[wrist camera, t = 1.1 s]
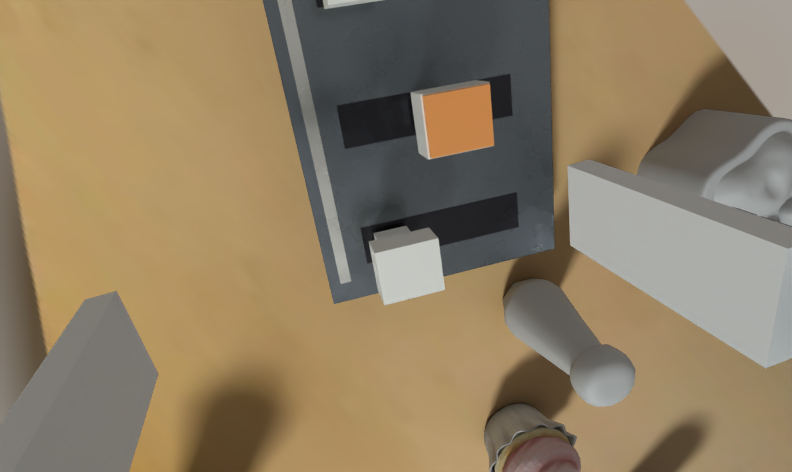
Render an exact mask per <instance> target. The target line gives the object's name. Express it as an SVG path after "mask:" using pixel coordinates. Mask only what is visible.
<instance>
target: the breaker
mask: <svg viewBox="0 0 792 472" xmlns="http://www.w3.org/2000/svg"><path fill="white" fill-rule="evenodd" d="M374 238H375V240H373V241H369V246H370V251H371V257H372V262H373V267H374V272H375V278H376V283H377V288H378V292H379V294H380V297H381V299H382V301H383V304H384V305H387V304H391V303H395V302H399V301H403V300H407V299H411V298H415V297H419V296H423V295H426V294H430V293H434V292H438V291H442V290H445V286H444V278H443V271H442V263H441V255H440V247H439V239H438V237H437V236H436V235H435V234H434V233H433V232H432V231H431V229H430V228H424V229H420V230H416V231H412V232H411V231H410V230H409V229H408V227H407V226H402V227H398V228H394V229H389V230H385V231H381V232H376V233H374Z"/></svg>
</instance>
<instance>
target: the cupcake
mask: <svg viewBox="0 0 792 472" xmlns="http://www.w3.org/2000/svg"><path fill="white" fill-rule="evenodd" d="M576 438H577V437H576V436H575V435H573V434H571V433H569V432H566V430H565V426H564V425H563V424H561V423H558V422H555V421H552V420H549V419H548V418H547V417H545V416H544V415H543V414H542V413H541V412H539V411H538V410H537V409H535V408H534V407H532V406H529V405H526V404H512V405H508V406H506V407H504V408H502V409H501V410H499V411H498V412H496V413H495V414H494V415H493V416H492V417H491V419H490V420H489V422H488V423H487V425H486V428H485V434H484V441H485V445H486V449H487V452H488V455H489V470H490V472H580V470H581V462H580V457H579V455H578V453H577V451H576V450H575V448H574V447H573V446H574V444H575V442H576Z"/></svg>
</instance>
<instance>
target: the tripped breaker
mask: <svg viewBox="0 0 792 472" xmlns="http://www.w3.org/2000/svg"><path fill="white" fill-rule="evenodd" d="M411 101H412V108H413V116H414V123H415V130H416V137H417V144H418V152H419V154H421V155H422V156H424V157H425V158H427V159H428V160H429V159H434V158H438V157H443V156H448V155H453V154H458V153H462V152H467V151H472V150H477V149H481V148H486V147H491V146H494V134H493V120H492V106H491V92H490V84H489V81H479V80H473V81H468V82H462V83H457V84H451V85H446V86H441V87H435V88H430V89H424V90H419V91H413V92H411Z"/></svg>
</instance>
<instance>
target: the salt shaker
mask: <svg viewBox="0 0 792 472" xmlns="http://www.w3.org/2000/svg"><path fill="white" fill-rule="evenodd" d="M503 305H504V315H505V323H506V324H507V326H508V328H509V329H510V331H511V332H512V334H513V335H514V336H516V337H517V338H518V339H520V340H521V341H523V342H524V343H525V344H527V345H528V346H529V347H531V348H532V349H534V350H535V351H536V352H538V353H539V354H541V355H542V356H543V357H545V358H546V359H547V360H549V361H550V362H552V363H553V364H554V365H556V366H557V367H559V368H560V369H561V370H563V371H564V372H565V373H567V374H568V375H570V382H571V384H572V386H573V388H574V389H575V391H576V393H577V394H578V395H579V396H580V398H581V399H583V400H584V401H585V402H587V403H588V404H591V405H593V406H596V407H602V406H612V405H614V404H616V403H618V402H620V401H621V400H623V399H624V398H625V397H626V396H627V395H628V394H629V393H630V391H631V389H632V387H633V385H634V380H635V368H634V366H633V364H632V362H631V361H630V359H629V358H628V357H627V356H626V355H625V354H624V353H623V352H621V351H620V350H618V349H616V348H614V347H612V346H610V345H607V344H603V345H602V344H601V343H600V342H599V340H598V339H597V338H596V337H595V335H594V334H593V333H592V331H591V330H590V329H589V327H588V326H587V325H586V323H585V322H584V320H583V319H582V318H581V316H580V315H579V313H578V312H577V311H576V309H575V308H574V306H573V305H572V303H571V302H570V301H569V299H568V298H567V296H566V295H565V294H564V292H563V291H562V289H561V288H560V287H559V286H557V285H555V284H553V283H552V282H550V281H548V280H545V279H533V278H531V279H527V280H523V281H519V282H514V283H513V284H512V286H511V287H510V289H509V290H508V292H507V293H506V295H505V296H504V298H503Z"/></svg>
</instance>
